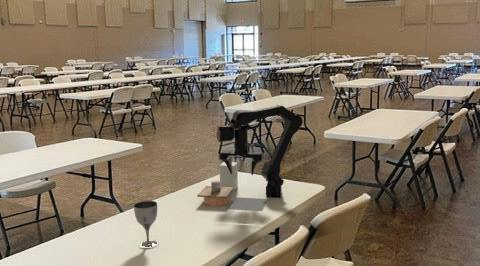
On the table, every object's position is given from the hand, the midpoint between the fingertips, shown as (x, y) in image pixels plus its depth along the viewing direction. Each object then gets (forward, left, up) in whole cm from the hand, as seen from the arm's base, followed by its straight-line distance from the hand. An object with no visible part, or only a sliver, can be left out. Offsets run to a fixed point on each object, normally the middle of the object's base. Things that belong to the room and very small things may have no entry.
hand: (242, 174), depth 204 cm
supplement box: (+10, -15, -12) cm, 22 cm away
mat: (-4, +5, -12) cm, 13 cm away
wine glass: (+23, +50, -12) cm, 56 cm away
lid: (+11, +4, -8) cm, 14 cm away
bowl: (+11, +4, -12) cm, 17 cm away
